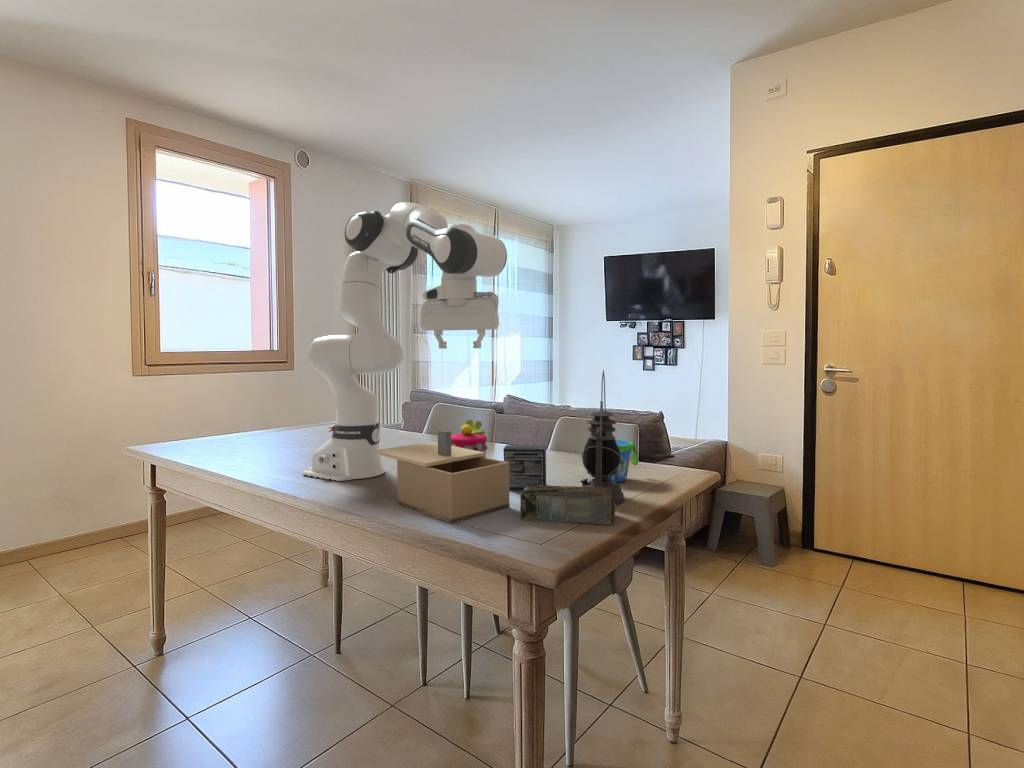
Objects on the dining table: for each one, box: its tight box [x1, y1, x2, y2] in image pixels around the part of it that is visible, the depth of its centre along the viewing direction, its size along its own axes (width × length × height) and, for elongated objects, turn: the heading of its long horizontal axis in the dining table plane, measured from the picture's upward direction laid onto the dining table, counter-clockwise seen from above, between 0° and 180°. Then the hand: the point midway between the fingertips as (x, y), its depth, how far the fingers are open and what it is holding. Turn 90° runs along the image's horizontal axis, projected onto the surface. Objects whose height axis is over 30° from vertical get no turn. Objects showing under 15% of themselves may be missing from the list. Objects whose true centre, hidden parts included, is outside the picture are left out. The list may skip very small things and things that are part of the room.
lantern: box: [579, 370, 625, 505], centre depth 125 cm, size 12×11×30 cm
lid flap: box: [375, 429, 485, 467], centre depth 127 cm, size 21×17×6 cm
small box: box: [503, 444, 547, 491], centre depth 136 cm, size 11×6×10 cm, turn 84°
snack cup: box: [608, 439, 639, 483], centre depth 143 cm, size 16×10×10 cm
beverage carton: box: [519, 484, 617, 526], centre depth 112 cm, size 8×19×7 cm, turn 78°
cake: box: [451, 419, 488, 458], centre depth 150 cm, size 10×11×15 cm
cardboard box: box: [396, 456, 510, 524], centre depth 121 cm, size 20×16×10 cm
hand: (459, 348), depth 136 cm, fingers open, 8 cm apart
